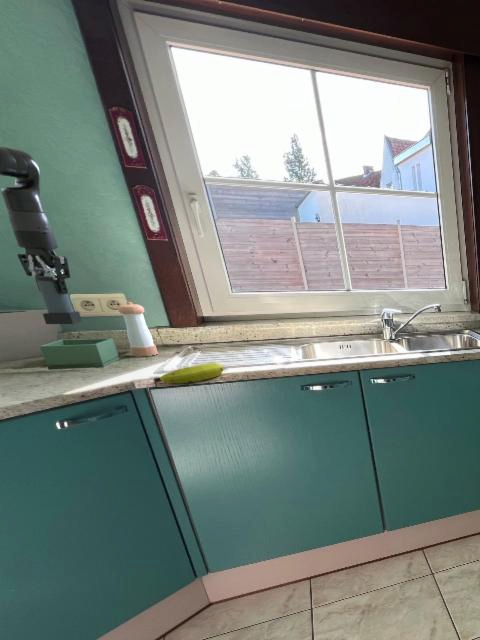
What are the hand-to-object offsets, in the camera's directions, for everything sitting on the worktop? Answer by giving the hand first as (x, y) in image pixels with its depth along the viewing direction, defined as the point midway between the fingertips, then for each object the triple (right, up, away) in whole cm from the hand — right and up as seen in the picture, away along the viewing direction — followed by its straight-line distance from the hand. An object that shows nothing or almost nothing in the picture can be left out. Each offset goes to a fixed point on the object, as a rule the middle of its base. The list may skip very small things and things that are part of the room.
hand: (54, 292), depth 142 cm
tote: (-16, -17, +24) cm, 33 cm away
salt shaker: (-11, -10, +41) cm, 44 cm away
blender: (0, -8, +3) cm, 9 cm away
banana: (+30, -23, +12) cm, 40 cm away
